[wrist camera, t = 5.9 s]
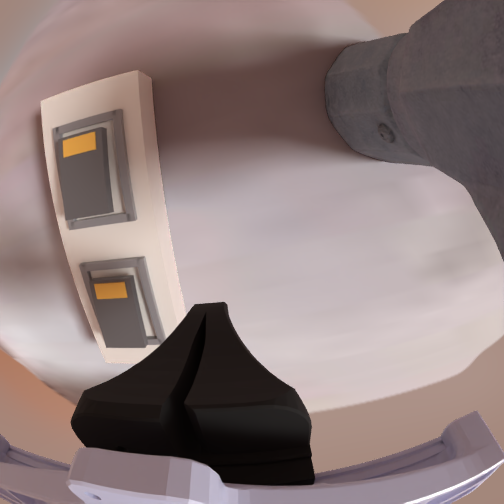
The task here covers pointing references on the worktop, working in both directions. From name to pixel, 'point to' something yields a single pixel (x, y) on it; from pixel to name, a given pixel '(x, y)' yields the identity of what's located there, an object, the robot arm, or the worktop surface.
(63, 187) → the rocker
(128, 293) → the rocker
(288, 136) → the worktop surface
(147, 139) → the power strip
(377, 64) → the moka pot
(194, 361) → the robot arm
